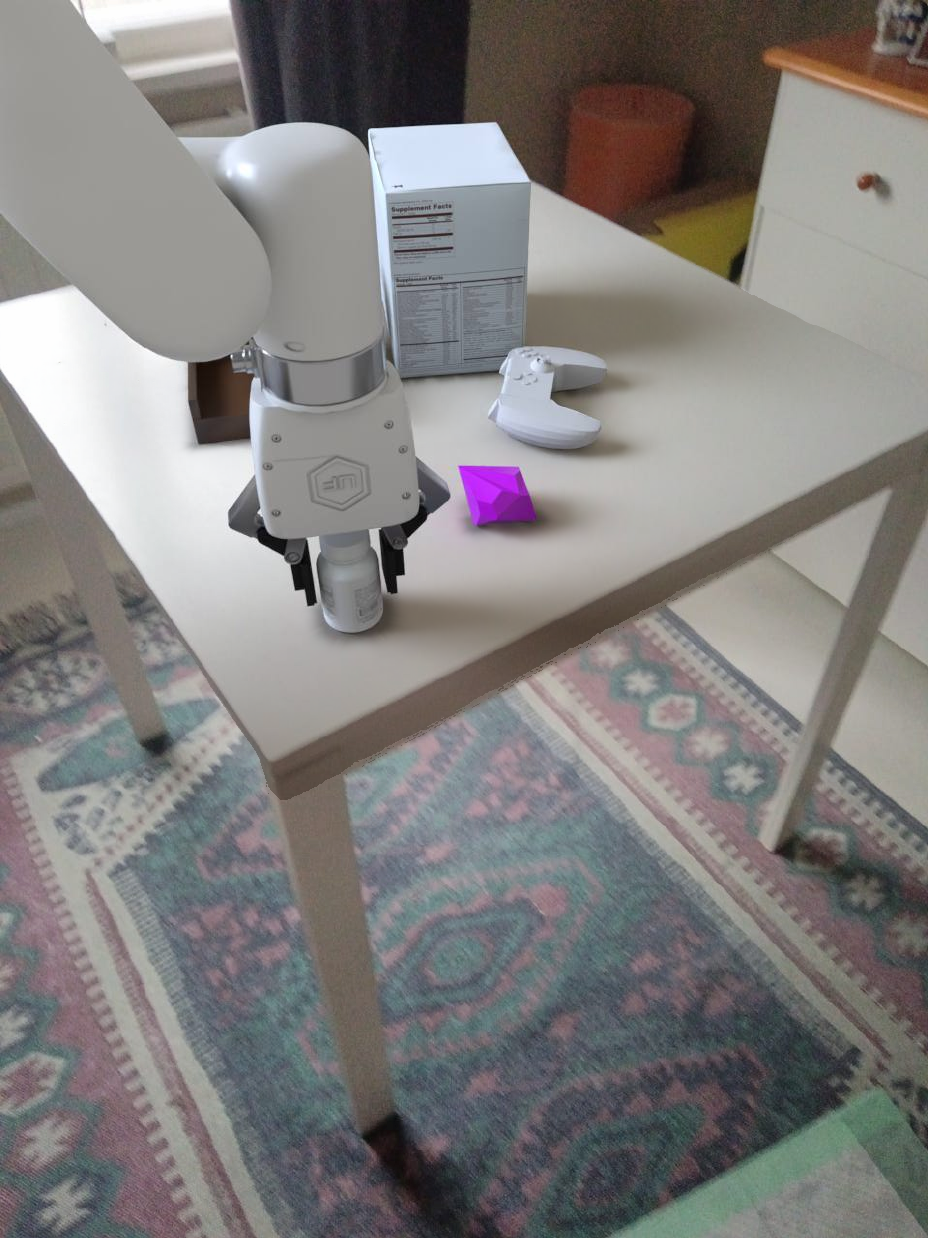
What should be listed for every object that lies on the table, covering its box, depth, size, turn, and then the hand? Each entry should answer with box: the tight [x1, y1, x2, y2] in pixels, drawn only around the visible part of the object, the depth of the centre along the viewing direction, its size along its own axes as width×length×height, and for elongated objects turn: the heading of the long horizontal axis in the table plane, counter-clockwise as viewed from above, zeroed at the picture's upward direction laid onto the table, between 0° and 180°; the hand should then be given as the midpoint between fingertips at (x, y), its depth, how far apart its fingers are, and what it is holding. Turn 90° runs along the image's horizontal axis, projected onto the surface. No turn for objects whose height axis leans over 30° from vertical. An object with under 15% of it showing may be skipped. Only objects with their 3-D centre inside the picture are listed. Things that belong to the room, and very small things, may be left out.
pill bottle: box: [315, 529, 384, 634], centre depth 69 cm, size 4×4×8 cm
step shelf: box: [187, 337, 255, 445], centre depth 91 cm, size 14×16×11 cm
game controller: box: [486, 345, 608, 450], centre depth 90 cm, size 14×4×10 cm
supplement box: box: [367, 121, 532, 379], centre depth 96 cm, size 17×13×18 cm
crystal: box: [457, 465, 539, 527], centre depth 79 cm, size 5×5×5 cm
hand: (350, 585), depth 70 cm, fingers open, 5 cm apart
